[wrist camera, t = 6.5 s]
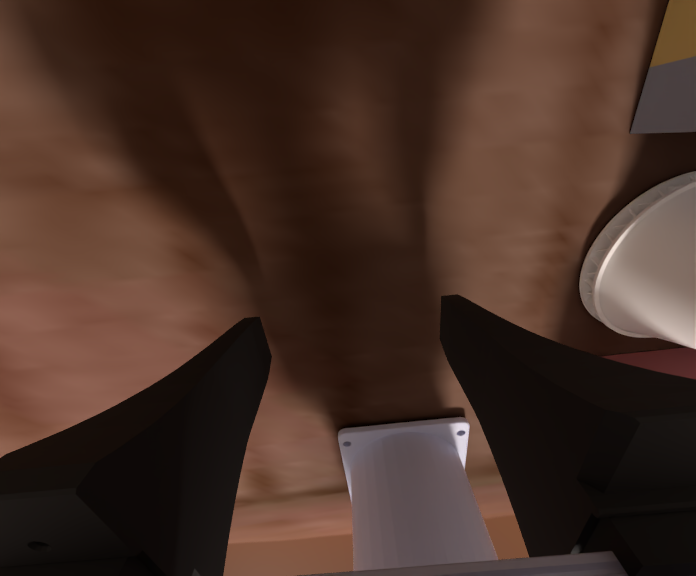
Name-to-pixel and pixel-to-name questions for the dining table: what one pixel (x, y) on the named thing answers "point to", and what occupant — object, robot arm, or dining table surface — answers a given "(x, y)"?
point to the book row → (668, 117)
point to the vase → (647, 266)
